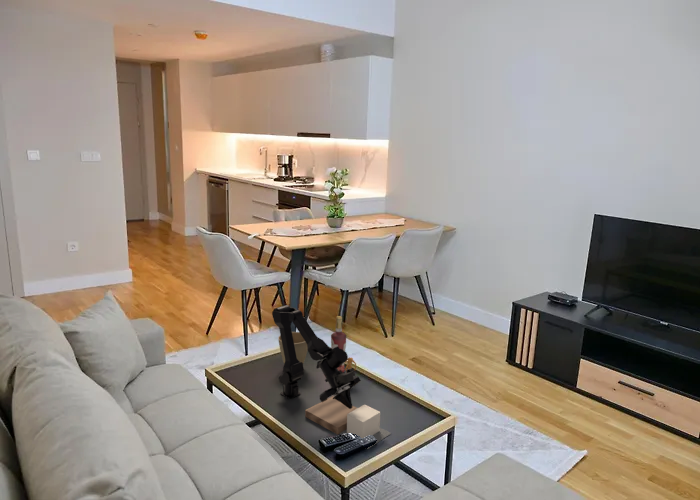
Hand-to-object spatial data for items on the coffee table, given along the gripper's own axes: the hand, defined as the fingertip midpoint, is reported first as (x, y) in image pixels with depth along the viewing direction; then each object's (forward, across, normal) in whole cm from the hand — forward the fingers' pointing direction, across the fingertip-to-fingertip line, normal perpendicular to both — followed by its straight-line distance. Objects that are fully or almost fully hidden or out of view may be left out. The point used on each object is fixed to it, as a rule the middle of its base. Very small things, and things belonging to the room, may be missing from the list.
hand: (351, 408), depth 198 cm
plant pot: (-32, +18, +43) cm, 57 cm away
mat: (+11, 0, 0) cm, 11 cm away
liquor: (-20, +30, +31) cm, 47 cm away
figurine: (-12, +26, +24) cm, 37 cm away
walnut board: (-1, 0, +11) cm, 11 cm away
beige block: (+4, 0, +1) cm, 4 cm away
